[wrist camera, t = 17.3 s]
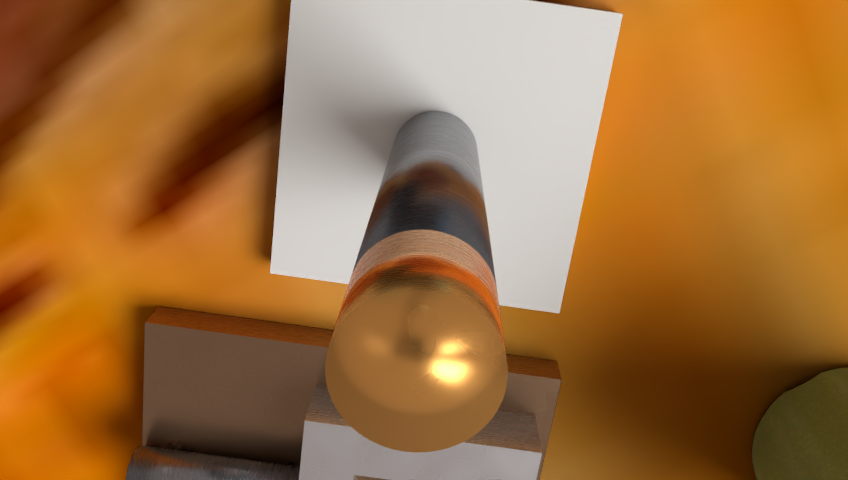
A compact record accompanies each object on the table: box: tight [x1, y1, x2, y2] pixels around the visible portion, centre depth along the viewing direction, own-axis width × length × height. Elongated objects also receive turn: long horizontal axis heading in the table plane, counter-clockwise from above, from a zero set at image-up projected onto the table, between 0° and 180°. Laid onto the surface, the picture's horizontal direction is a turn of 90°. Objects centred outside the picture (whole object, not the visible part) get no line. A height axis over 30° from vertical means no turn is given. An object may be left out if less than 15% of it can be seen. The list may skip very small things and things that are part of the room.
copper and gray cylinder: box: [325, 111, 508, 453], centre depth 21 cm, size 3×3×16 cm
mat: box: [270, 0, 623, 313], centre depth 29 cm, size 11×11×1 cm
